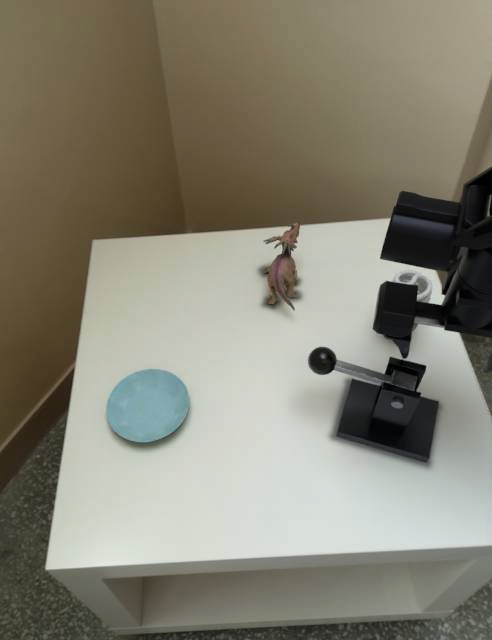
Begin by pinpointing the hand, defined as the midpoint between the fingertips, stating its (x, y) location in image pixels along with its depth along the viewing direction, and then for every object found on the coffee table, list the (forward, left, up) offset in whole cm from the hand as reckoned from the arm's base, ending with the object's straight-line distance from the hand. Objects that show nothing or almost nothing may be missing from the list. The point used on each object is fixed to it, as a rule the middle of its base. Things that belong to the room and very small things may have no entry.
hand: (444, 362), depth 63 cm
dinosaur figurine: (+25, -16, -12) cm, 32 cm away
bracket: (+4, +3, -12) cm, 13 cm away
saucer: (+36, +12, -12) cm, 40 cm away
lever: (+9, +3, -4) cm, 11 cm away
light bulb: (+5, -12, -12) cm, 18 cm away
